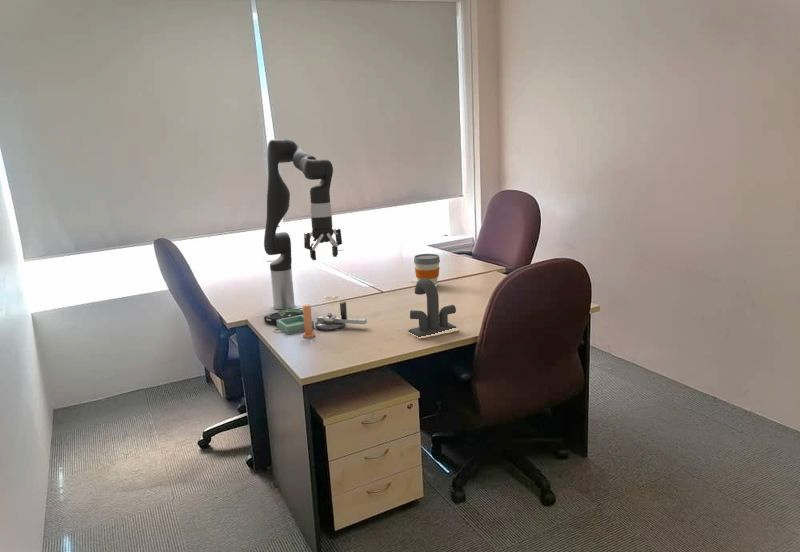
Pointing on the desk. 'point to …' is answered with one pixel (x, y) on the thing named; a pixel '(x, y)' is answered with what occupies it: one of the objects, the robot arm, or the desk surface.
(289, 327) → the tray
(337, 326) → the crank base
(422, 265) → the reusable coffee cup
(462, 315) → the desk surface
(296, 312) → the disk drive
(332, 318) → the crank
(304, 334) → the stop peg
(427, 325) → the faucet
